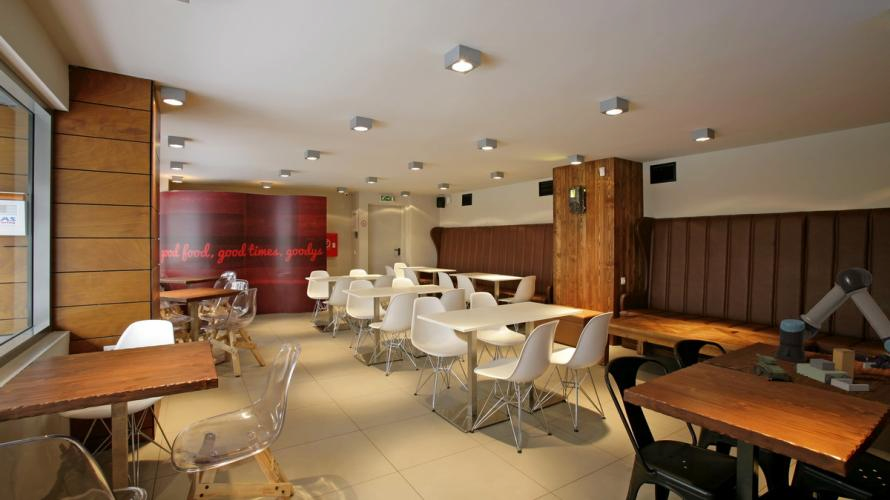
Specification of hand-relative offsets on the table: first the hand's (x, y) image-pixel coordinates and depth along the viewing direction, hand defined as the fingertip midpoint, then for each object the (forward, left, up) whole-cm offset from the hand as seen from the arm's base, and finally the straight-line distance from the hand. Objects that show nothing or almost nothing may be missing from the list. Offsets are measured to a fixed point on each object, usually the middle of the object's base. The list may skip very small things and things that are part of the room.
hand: (850, 361), depth 230 cm
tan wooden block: (-1, -3, -9) cm, 9 cm away
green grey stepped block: (+4, -15, -9) cm, 18 cm away
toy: (-4, -43, -9) cm, 44 cm away
